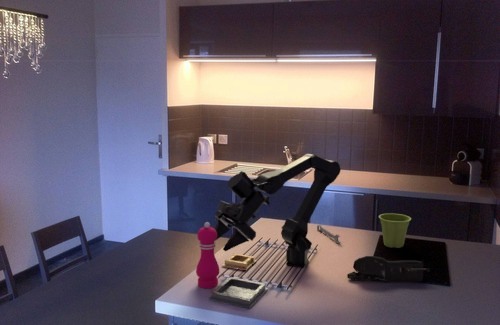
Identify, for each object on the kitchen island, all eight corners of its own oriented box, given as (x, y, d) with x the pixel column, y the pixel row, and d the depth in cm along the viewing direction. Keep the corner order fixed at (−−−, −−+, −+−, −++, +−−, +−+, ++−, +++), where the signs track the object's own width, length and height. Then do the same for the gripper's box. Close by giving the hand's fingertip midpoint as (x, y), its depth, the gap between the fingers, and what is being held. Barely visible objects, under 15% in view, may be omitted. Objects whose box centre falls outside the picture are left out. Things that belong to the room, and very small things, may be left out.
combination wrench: (316, 223, 193) (338, 236, 174) (319, 222, 193) (341, 236, 174) (316, 231, 193) (338, 245, 174) (319, 231, 194) (341, 245, 175)
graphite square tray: (267, 289, 136) (267, 283, 135) (249, 308, 124) (249, 301, 124) (229, 282, 141) (229, 276, 141) (208, 299, 129) (208, 292, 129)
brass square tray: (256, 261, 158) (256, 256, 157) (245, 271, 149) (245, 265, 149) (233, 257, 161) (233, 252, 161) (222, 266, 153) (222, 260, 153)
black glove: (428, 285, 141) (431, 260, 140) (350, 285, 139) (352, 260, 138) (419, 276, 148) (421, 252, 146) (344, 275, 146) (346, 252, 145)
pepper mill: (216, 290, 135) (215, 226, 132) (193, 288, 137) (191, 225, 134) (222, 280, 142) (221, 219, 139) (200, 278, 144) (199, 218, 141)
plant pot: (412, 243, 176) (414, 215, 174) (405, 252, 166) (406, 223, 164) (382, 238, 182) (383, 211, 180) (373, 246, 172) (374, 218, 170)
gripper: (219, 185, 147) (188, 223, 144) (247, 197, 131) (213, 239, 128) (240, 206, 152) (211, 242, 149) (269, 220, 136) (237, 261, 133)
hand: (217, 245), depth 139 cm, fingers open, 9 cm apart
